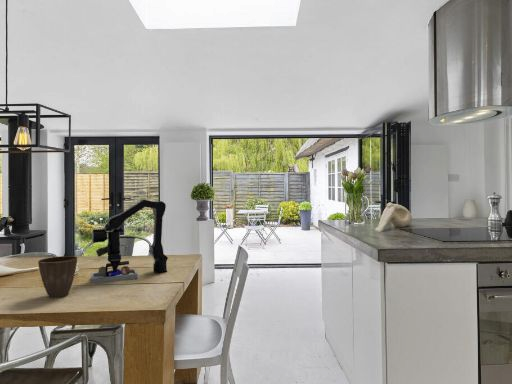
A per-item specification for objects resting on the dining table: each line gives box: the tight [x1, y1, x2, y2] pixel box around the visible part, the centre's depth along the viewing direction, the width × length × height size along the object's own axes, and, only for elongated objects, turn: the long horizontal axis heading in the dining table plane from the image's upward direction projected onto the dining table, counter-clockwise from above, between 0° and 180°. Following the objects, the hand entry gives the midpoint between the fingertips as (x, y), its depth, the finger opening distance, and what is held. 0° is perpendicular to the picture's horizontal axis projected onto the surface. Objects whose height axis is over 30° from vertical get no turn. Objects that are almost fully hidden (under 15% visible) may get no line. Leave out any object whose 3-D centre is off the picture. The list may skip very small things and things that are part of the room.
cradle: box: [90, 268, 139, 285], centre depth 175 cm, size 22×13×2 cm, turn 114°
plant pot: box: [37, 255, 78, 299], centre depth 147 cm, size 15×15×16 cm
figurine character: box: [97, 260, 131, 277], centre depth 175 cm, size 7×8×15 cm
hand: (114, 270), depth 175 cm, fingers open, 9 cm apart
